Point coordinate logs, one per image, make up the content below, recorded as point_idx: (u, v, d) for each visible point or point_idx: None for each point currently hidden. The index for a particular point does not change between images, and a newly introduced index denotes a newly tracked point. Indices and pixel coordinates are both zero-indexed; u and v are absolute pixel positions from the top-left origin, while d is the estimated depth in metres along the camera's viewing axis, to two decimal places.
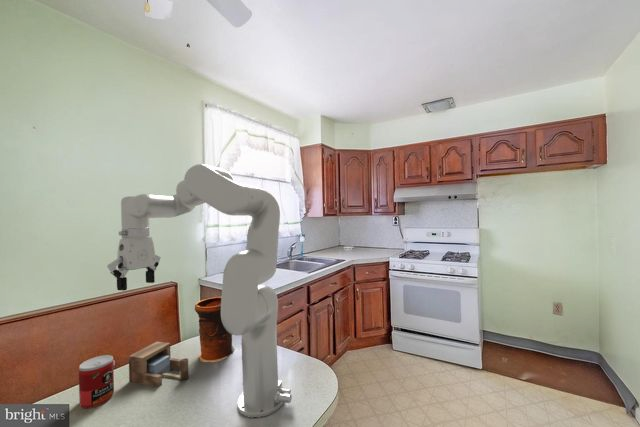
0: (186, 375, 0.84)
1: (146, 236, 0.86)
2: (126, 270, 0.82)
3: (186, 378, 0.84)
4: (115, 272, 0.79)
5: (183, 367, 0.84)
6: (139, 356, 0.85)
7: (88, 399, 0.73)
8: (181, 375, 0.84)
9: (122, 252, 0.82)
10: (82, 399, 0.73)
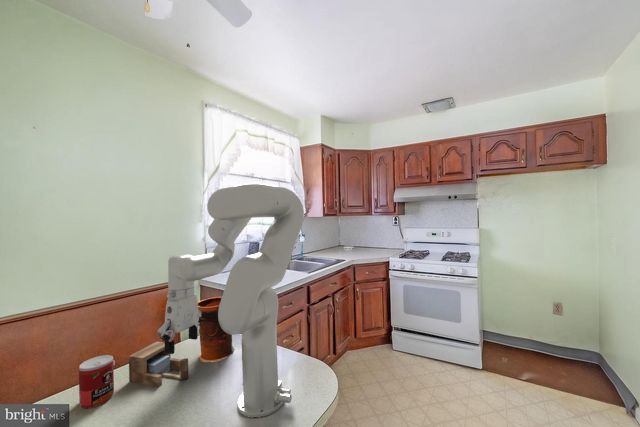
0: (186, 375, 0.84)
1: (192, 295, 0.86)
2: (174, 333, 0.81)
3: (186, 378, 0.84)
4: (164, 337, 0.78)
5: (183, 367, 0.84)
6: (139, 356, 0.85)
7: (88, 399, 0.73)
8: (181, 375, 0.84)
9: (170, 315, 0.81)
10: (82, 399, 0.73)
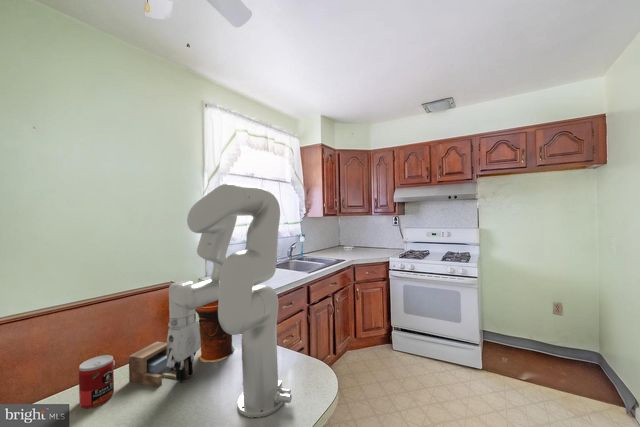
0: (186, 375, 0.84)
1: (193, 322, 0.85)
2: (182, 361, 0.83)
3: (186, 378, 0.84)
4: (176, 366, 0.81)
5: (183, 367, 0.84)
6: (139, 356, 0.85)
7: (88, 399, 0.73)
8: None
9: (172, 344, 0.80)
10: (82, 399, 0.73)
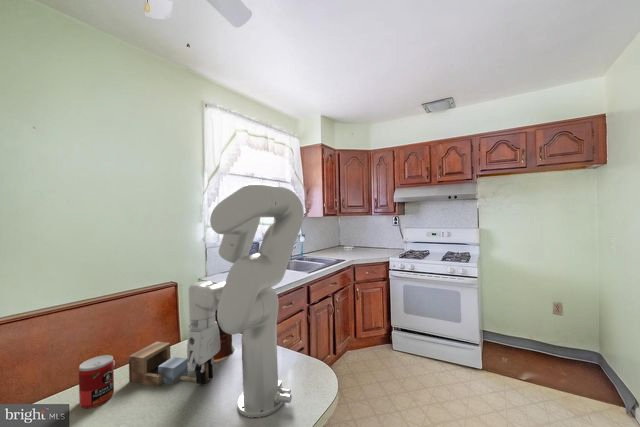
0: (206, 378, 0.82)
1: (214, 324, 0.83)
2: (202, 364, 0.81)
3: (207, 381, 0.82)
4: (197, 369, 0.79)
5: None
6: (139, 356, 0.85)
7: (88, 399, 0.73)
8: None
9: (193, 346, 0.78)
10: (82, 399, 0.73)
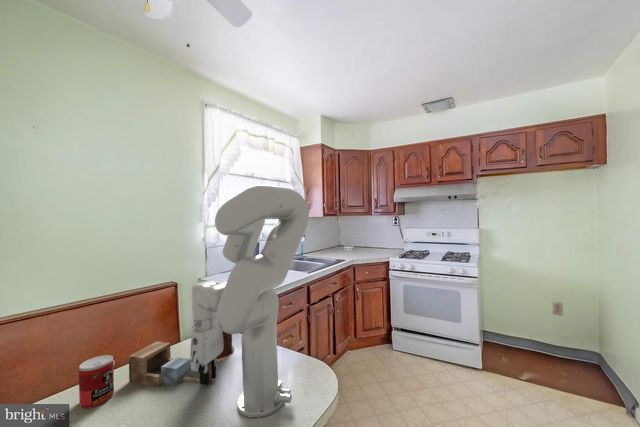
0: (210, 379, 0.82)
1: (217, 325, 0.83)
2: (206, 364, 0.80)
3: (210, 382, 0.82)
4: (200, 369, 0.79)
5: (207, 370, 0.82)
6: (139, 356, 0.85)
7: (88, 399, 0.73)
8: None
9: (196, 347, 0.78)
10: (82, 399, 0.73)
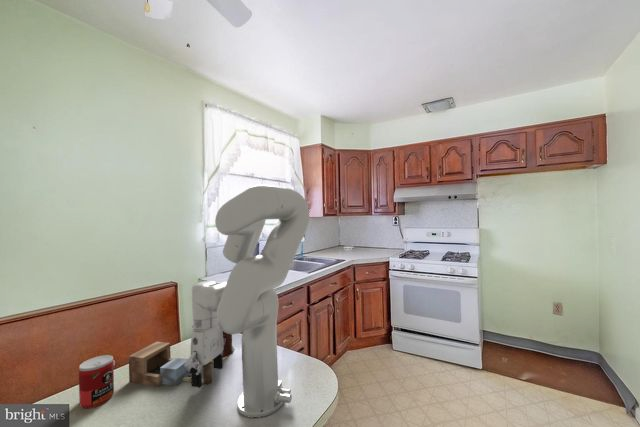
0: (210, 379, 0.82)
1: (217, 324, 0.83)
2: (200, 365, 0.78)
3: (210, 381, 0.82)
4: (192, 371, 0.75)
5: (207, 370, 0.82)
6: (139, 356, 0.85)
7: (88, 399, 0.73)
8: (204, 379, 0.81)
9: (196, 346, 0.78)
10: (82, 399, 0.73)
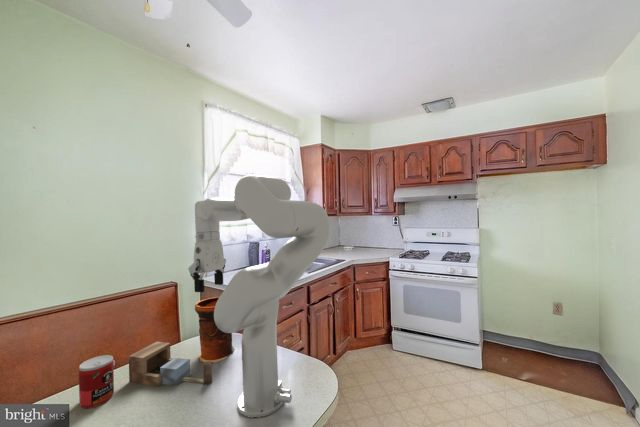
0: (210, 379, 0.82)
1: (218, 239, 0.89)
2: (203, 272, 0.84)
3: (210, 381, 0.82)
4: (195, 274, 0.82)
5: (207, 370, 0.82)
6: (139, 356, 0.85)
7: (88, 399, 0.73)
8: (204, 379, 0.81)
9: (199, 255, 0.84)
10: (82, 399, 0.73)
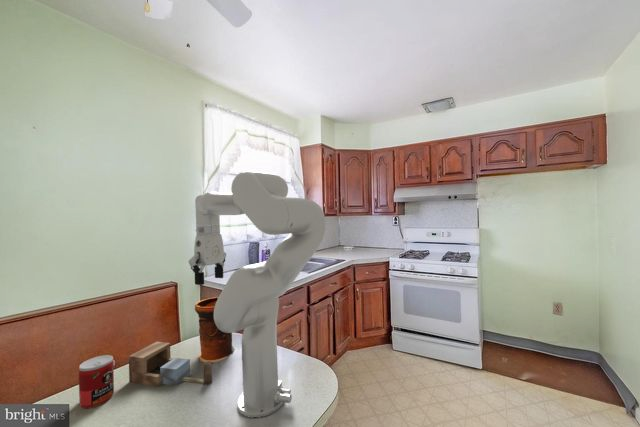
0: (210, 379, 0.82)
1: (218, 233, 0.90)
2: (203, 265, 0.86)
3: (210, 381, 0.82)
4: (195, 267, 0.83)
5: (207, 370, 0.82)
6: (139, 356, 0.85)
7: (88, 399, 0.73)
8: (204, 379, 0.81)
9: (199, 248, 0.85)
10: (82, 399, 0.73)
